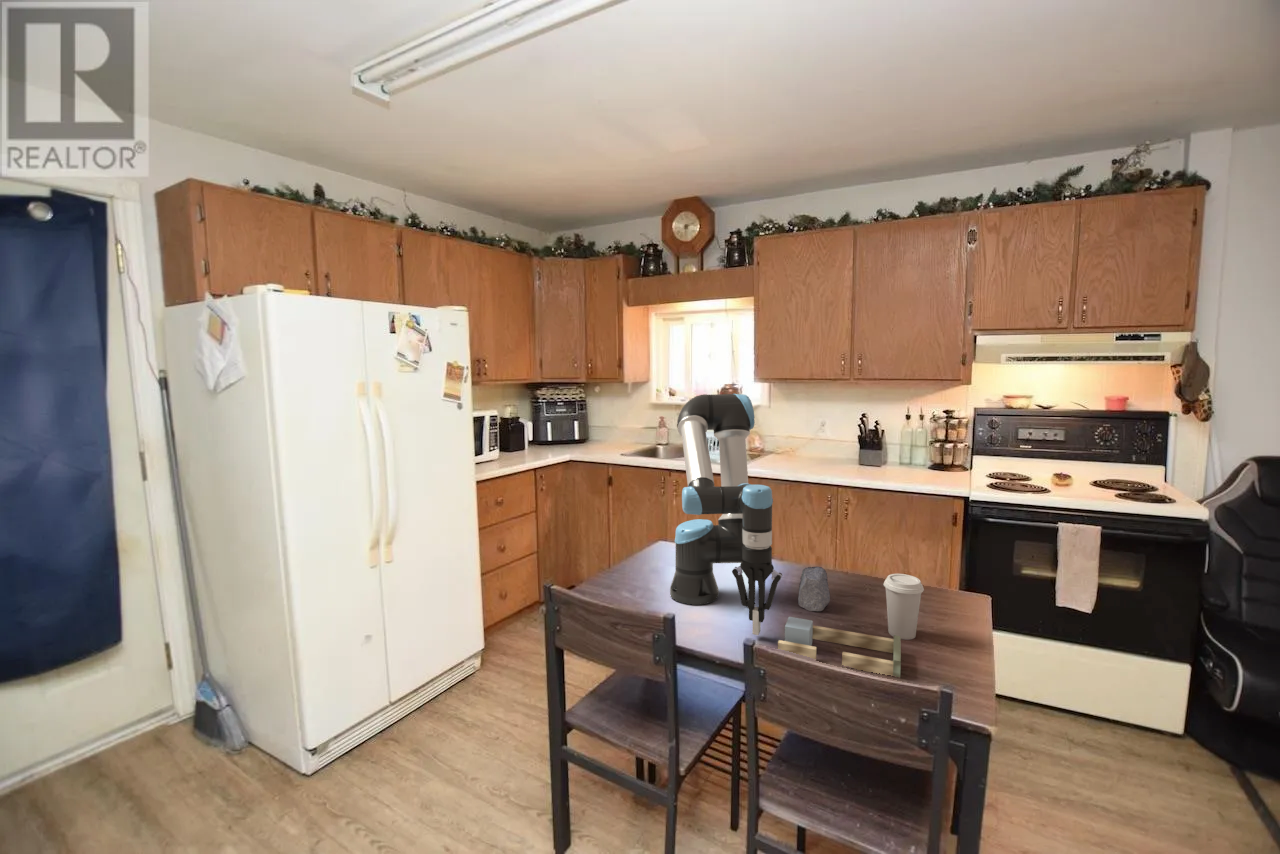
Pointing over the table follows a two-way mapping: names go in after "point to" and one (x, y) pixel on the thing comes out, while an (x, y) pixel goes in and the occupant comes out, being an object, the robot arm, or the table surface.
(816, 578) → the stone
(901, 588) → the coffee cup
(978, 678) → the table surface
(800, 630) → the block
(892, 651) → the channel
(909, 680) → the table surface
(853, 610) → the table surface
